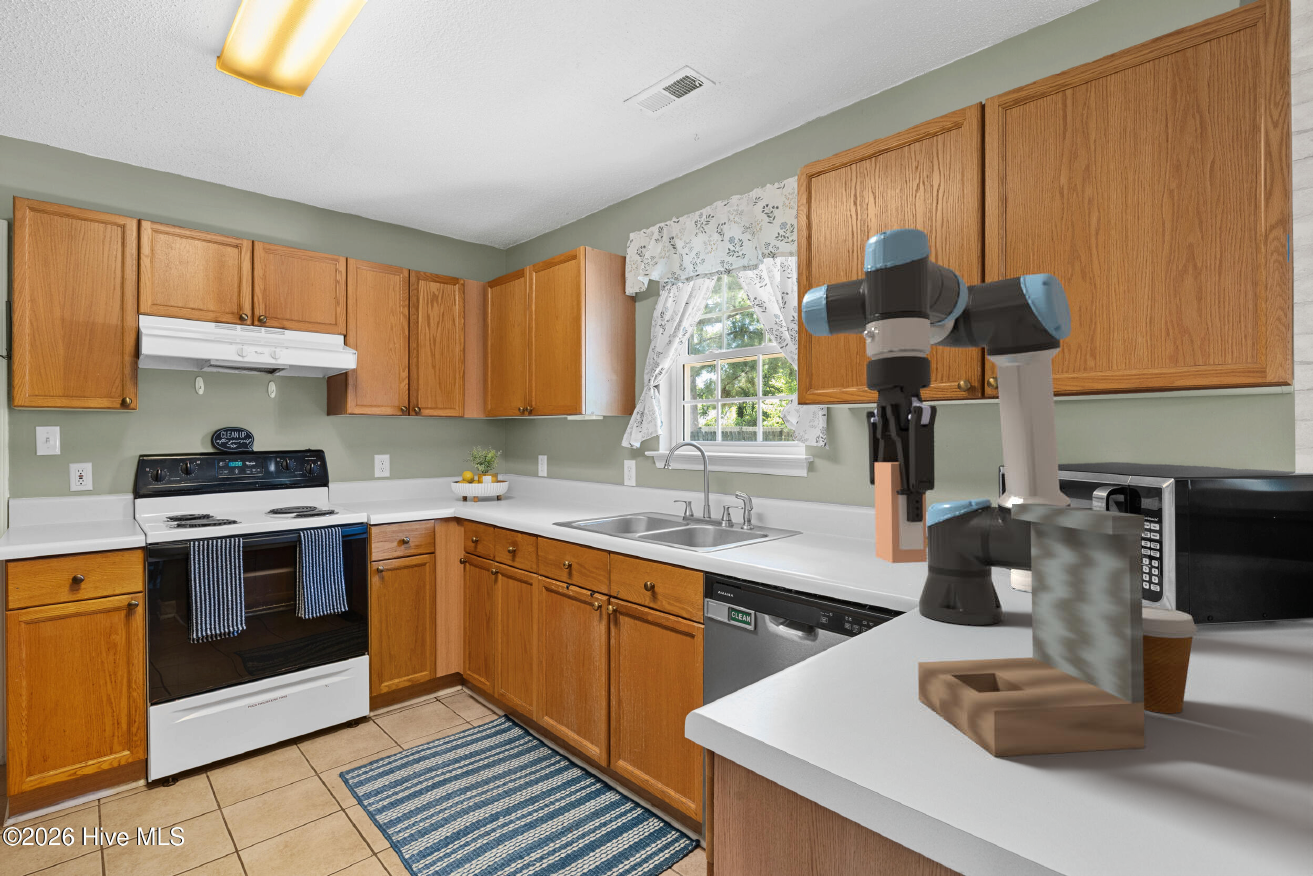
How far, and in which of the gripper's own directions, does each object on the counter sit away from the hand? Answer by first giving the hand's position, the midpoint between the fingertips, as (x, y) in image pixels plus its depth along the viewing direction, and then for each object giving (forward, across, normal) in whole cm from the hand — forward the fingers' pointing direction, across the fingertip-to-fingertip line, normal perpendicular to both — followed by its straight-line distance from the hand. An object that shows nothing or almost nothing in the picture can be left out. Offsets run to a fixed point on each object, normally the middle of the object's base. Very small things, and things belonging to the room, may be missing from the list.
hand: (900, 545), depth 80 cm
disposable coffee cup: (+22, -1, +35) cm, 41 cm away
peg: (+2, 0, 0) cm, 2 cm away
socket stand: (+22, +2, +14) cm, 26 cm away
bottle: (+23, -66, +66) cm, 96 cm away
